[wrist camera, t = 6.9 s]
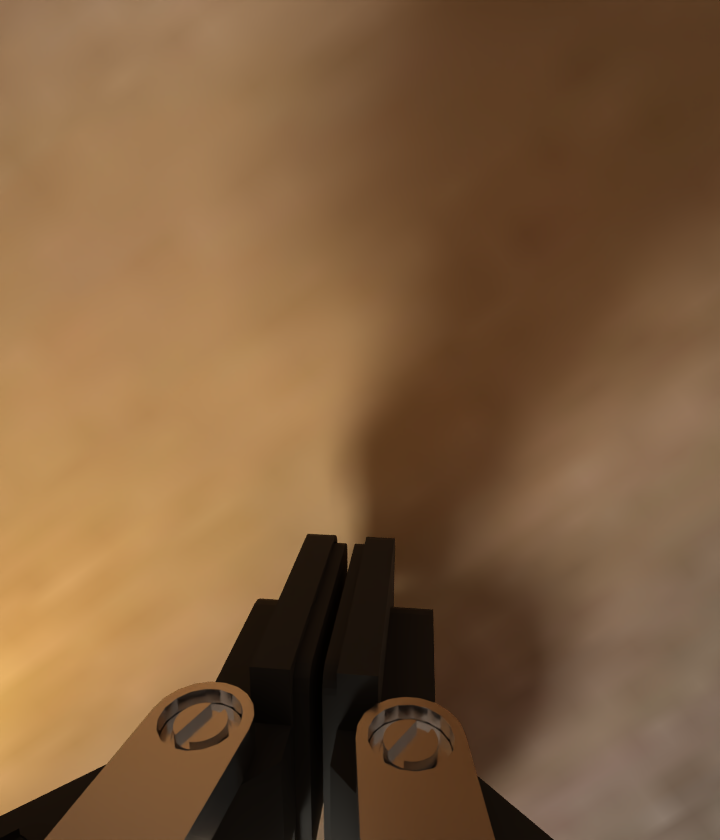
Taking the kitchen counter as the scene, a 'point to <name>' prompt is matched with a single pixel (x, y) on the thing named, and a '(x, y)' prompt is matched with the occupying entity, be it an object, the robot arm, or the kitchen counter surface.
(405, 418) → the kitchen counter surface
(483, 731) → the kitchen counter surface
